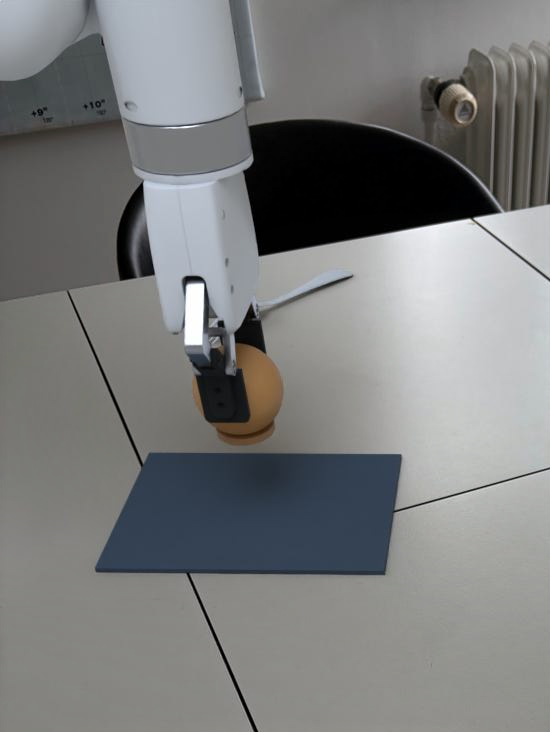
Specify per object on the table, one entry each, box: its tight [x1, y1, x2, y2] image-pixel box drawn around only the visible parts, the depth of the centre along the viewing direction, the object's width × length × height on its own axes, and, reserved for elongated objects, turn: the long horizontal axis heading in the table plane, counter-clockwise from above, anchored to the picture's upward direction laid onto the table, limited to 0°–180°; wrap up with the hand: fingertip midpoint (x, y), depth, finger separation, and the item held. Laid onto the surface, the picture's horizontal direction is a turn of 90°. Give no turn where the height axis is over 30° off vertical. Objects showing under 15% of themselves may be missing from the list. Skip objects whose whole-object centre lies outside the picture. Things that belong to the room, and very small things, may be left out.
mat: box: [94, 451, 403, 576], centre depth 84 cm, size 22×16×1 cm
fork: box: [209, 268, 354, 345], centre depth 112 cm, size 3×21×3 cm, turn 142°
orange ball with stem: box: [191, 343, 285, 447], centre depth 77 cm, size 7×7×8 cm
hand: (238, 393), depth 77 cm, fingers closed on orange ball with stem, 6 cm apart
